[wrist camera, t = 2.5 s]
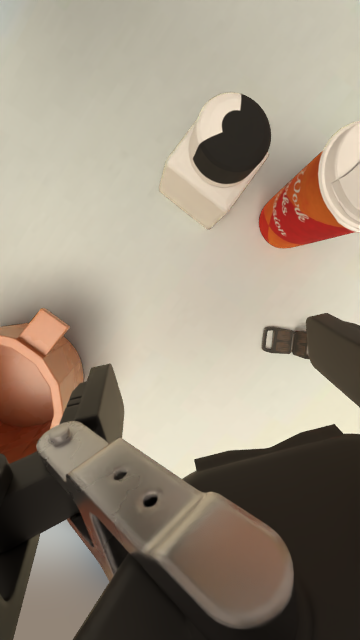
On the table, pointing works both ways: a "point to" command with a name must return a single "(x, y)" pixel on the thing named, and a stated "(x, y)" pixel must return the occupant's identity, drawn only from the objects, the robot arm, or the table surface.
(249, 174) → the medicine bottle
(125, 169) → the table surface
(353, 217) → the coffee cup
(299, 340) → the strap clip
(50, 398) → the pot
